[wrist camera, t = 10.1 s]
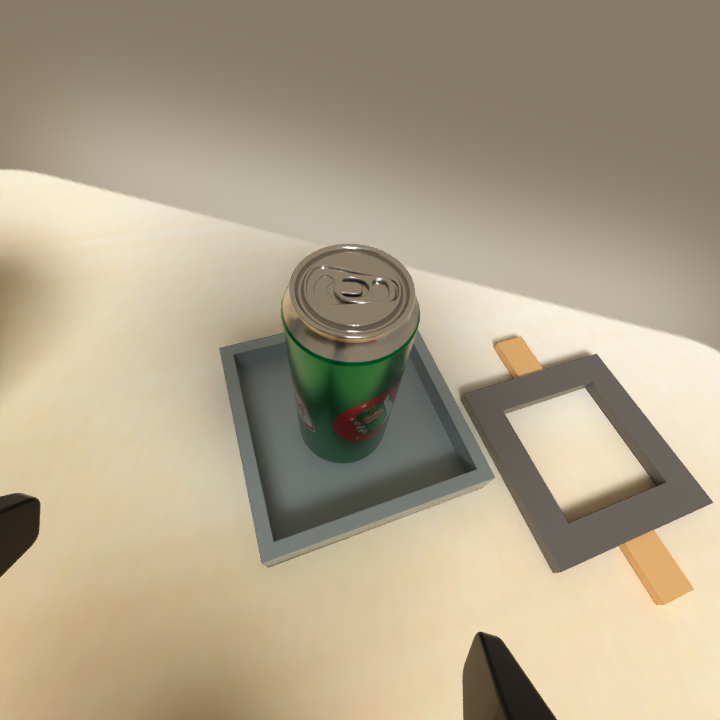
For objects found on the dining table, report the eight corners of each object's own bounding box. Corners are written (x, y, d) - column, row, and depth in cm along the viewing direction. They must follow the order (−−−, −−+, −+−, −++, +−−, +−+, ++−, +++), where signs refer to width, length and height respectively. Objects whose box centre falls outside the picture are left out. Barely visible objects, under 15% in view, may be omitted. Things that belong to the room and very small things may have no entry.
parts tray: (268, 567, 20) (261, 563, 18) (227, 366, 26) (219, 348, 24) (481, 488, 22) (495, 477, 21) (399, 324, 28) (404, 304, 27)
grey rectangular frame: (588, 639, 19) (598, 640, 18) (440, 362, 27) (443, 356, 26) (743, 559, 21) (756, 558, 21) (565, 327, 29) (571, 321, 29)
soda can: (305, 385, 25) (289, 230, 14) (384, 391, 25) (423, 241, 15) (294, 463, 22) (264, 340, 12) (383, 469, 22) (430, 353, 12)
